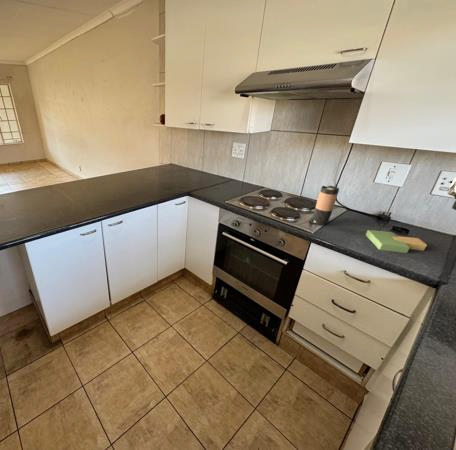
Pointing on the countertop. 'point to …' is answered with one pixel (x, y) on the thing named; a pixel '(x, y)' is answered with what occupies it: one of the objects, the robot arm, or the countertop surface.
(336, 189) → the travel mug
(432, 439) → the countertop surface
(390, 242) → the green pad
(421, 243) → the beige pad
